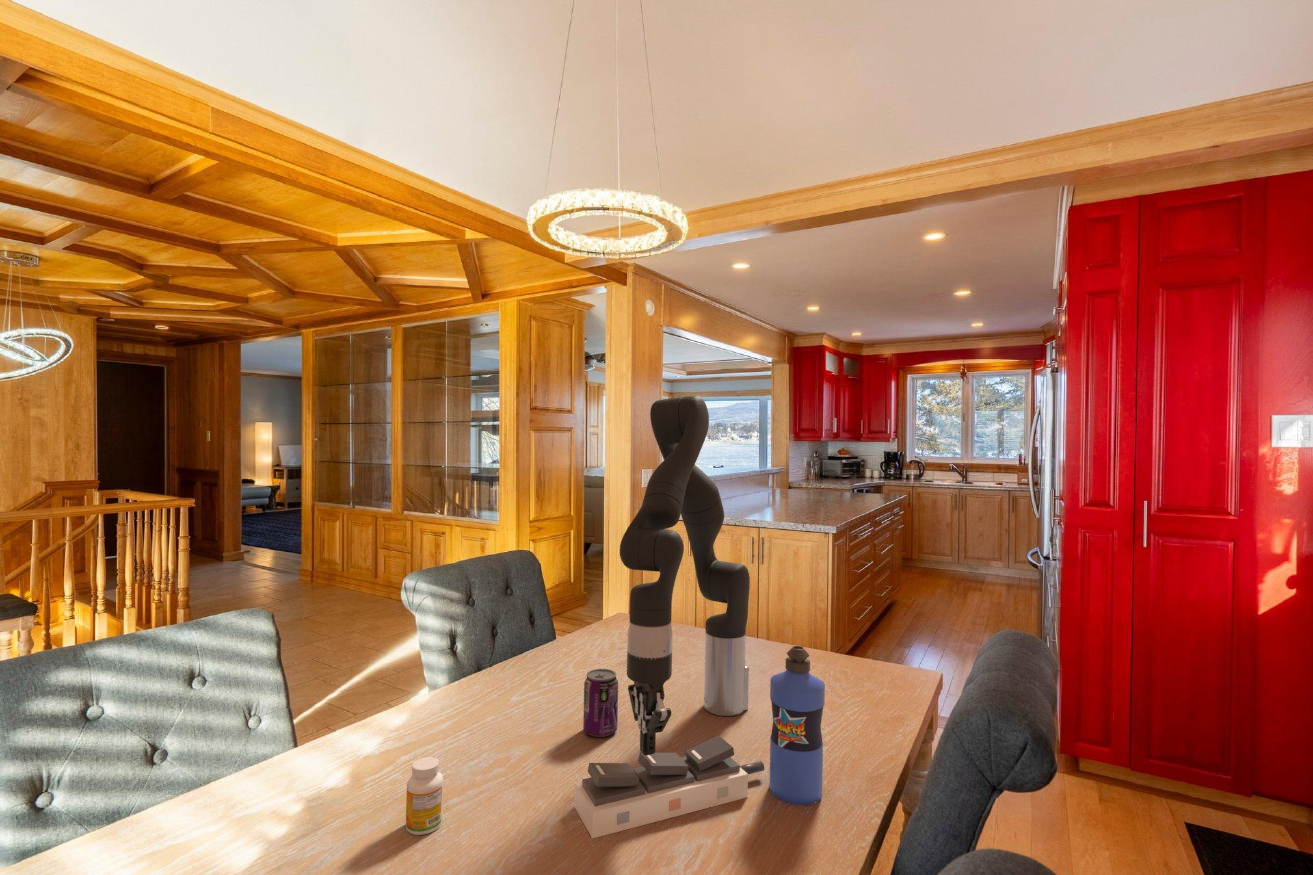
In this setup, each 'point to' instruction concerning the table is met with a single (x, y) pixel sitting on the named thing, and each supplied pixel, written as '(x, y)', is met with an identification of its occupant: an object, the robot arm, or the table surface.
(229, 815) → the table surface
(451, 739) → the table surface
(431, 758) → the supplement bottle
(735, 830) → the table surface
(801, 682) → the blue squeeze bottle
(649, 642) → the robot arm
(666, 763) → the plate
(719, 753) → the rocker
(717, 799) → the power strip
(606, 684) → the beverage can
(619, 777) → the rocker
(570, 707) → the table surface
